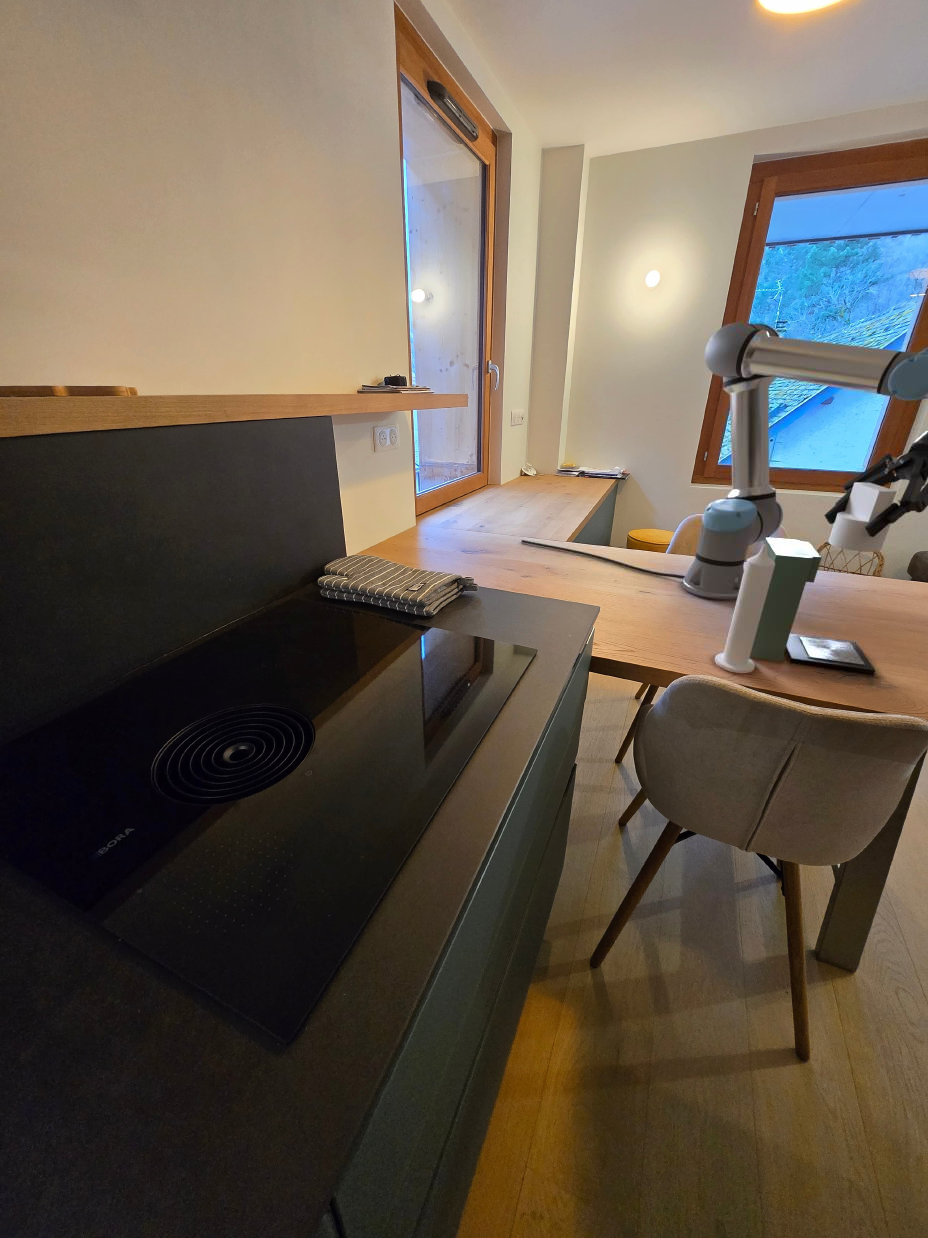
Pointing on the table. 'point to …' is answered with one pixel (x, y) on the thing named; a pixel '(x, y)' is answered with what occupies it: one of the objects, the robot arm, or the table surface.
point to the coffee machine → (780, 609)
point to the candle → (747, 614)
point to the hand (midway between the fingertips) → (847, 525)
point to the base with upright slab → (862, 518)
